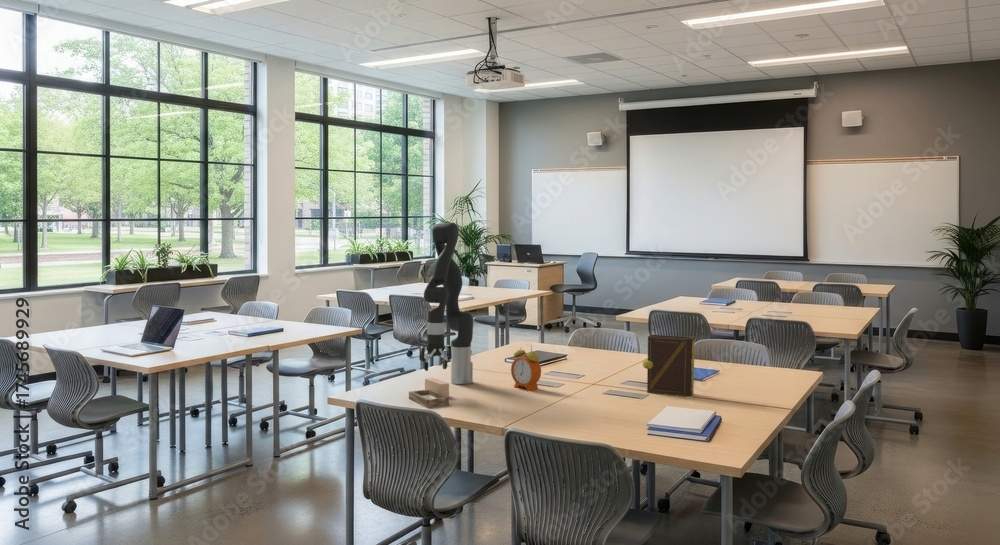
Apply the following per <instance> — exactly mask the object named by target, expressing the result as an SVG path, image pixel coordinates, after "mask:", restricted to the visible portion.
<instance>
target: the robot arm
mask: <svg viewBox="0 0 1000 545" xmlns="http://www.w3.org/2000/svg"><path fill="white" fill-rule="evenodd" d="M431 229H432V239H433V244H434V248H435V252H436V255H437V258H436V259H435V261H434V263H433V265H432V270H431V274H430V275H431V276H430V279H429V281H428V283H427V286H425V288H424V290H423V291H424V292H423V299H424V301H425V302H426V303H429V304H438V306H437V307H433V308H430V309H428V311H427V327H426V328H427V329H426V346H425V347H424V346H420V347H419V355H418V356H419V359H418V360H419V361H421V362H423V369H424V371H426V372H428V371H429V361H430V359H431V358H432V357H441V358H442V369H443V370H446V369H447V368H448V360H450V365H451V366H450V370H451V371H450V373H451V374H450V376H451V377H450V379H451V380H450V382H451V384H452V385H453V384H454V385H468V384H471V383H473V382H474V381H473V379H474V377H473V375H474V372H473V370H474V369H473V368H474V363H473V362H472V340H473V333H474V318H473V316H472V314H471V313H470V312H468V311H461V310H460V307H459V297H460V295H461V294H460V293H461V291H462V288H463V277H462V271H461V268H460V267H459V265H458V264H457V263H456V261H455V260H454V259H453V255H454V251H455V249H456V247H457V242H458V240H459V232H460V231H459V227H458V225H457V223H455V222H442V223H435V224H433V226H432V228H431ZM445 310H446V321H447V325H448V327H449V330H451V331H454V332H457V337H456V338H452V339H451V341H450V345H449V344H446V345H445V335H446V334H445V332H446V329H445V328H446V327H445ZM426 351H427V352H426ZM444 351H446V354H445V352H444ZM425 352H426V354H425Z"/></svg>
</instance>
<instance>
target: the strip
mask: <svg viewBox="0 0 1000 545" xmlns="http://www.w3.org/2000/svg"><path fill="white" fill-rule="evenodd" d="M428 389H431V390H433V391H435V392H438V393H440V394H442V395H444V396H446V397H450V383H449V382H446V381H443V380H440V379H437V378H434V377H429V378H424V390H428Z"/></svg>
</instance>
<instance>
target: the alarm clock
mask: <svg viewBox="0 0 1000 545" xmlns="http://www.w3.org/2000/svg"><path fill="white" fill-rule="evenodd" d="M526 345H529V344H526ZM530 349H531V350H530V351H528V352H527V353H526V351H525V350H524V349H522V348H520V349H517V350H516V351H515V352H514V353H513V358H514V360H513V361H512V363H511V366H510V367H511V368H510V373H511V374H510V375H511V378H512V380H513V381H514V382H515V383H514V386H513V388H514V389H519V388H523V387H525V388H526V391H531V392H532V391H536V390H539V386H538V384H537V383H538V382H539V381H540V380H541V379H540V378H541V376H542V367H541V365H540V362H539V360H540V357H539V354H538V353H537V352H536V351H533V346H532V345H531V344H530Z"/></svg>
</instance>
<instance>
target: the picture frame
mask: <svg viewBox="0 0 1000 545" xmlns="http://www.w3.org/2000/svg"><path fill="white" fill-rule="evenodd" d="M449 397H450V396H449ZM449 397H446V396H444V395H442V394H440V393H438V392H435V391H433V390H431V389H428V390H425V389H419V390H412V391H408V399H409V400H411V401H413V402H415V403H416V404H419V405H420V406H422V407H425V408H426V409H427V407H428V408H433V407H443V406H448V405H449V402H450V401H449V400H450V398H449Z"/></svg>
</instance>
